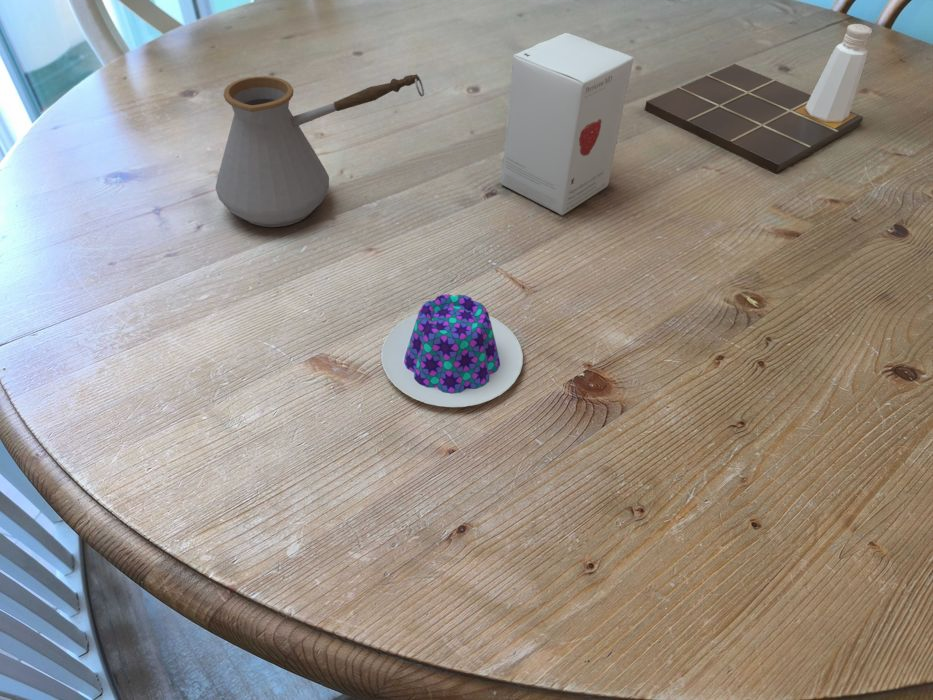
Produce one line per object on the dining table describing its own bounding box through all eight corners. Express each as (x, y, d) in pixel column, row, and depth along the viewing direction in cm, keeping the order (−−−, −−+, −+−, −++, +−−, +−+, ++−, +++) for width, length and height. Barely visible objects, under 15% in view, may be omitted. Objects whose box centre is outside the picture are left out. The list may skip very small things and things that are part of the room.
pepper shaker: (824, 126, 95) (860, 38, 87) (795, 107, 98) (827, 21, 91) (857, 119, 96) (894, 33, 89) (827, 101, 100) (860, 16, 92)
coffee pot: (208, 236, 75) (174, 93, 65) (234, 175, 83) (207, 40, 73) (421, 243, 76) (421, 103, 65) (426, 182, 84) (426, 49, 73)
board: (860, 125, 98) (864, 115, 97) (775, 173, 88) (779, 163, 88) (732, 71, 109) (734, 62, 108) (644, 109, 99) (646, 100, 98)
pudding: (512, 424, 59) (518, 378, 55) (364, 400, 60) (361, 354, 57) (529, 324, 68) (535, 278, 64) (400, 305, 69) (399, 259, 65)
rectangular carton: (562, 218, 80) (583, 83, 70) (499, 185, 84) (509, 53, 74) (611, 186, 85) (637, 55, 74) (548, 157, 89) (565, 29, 79)
